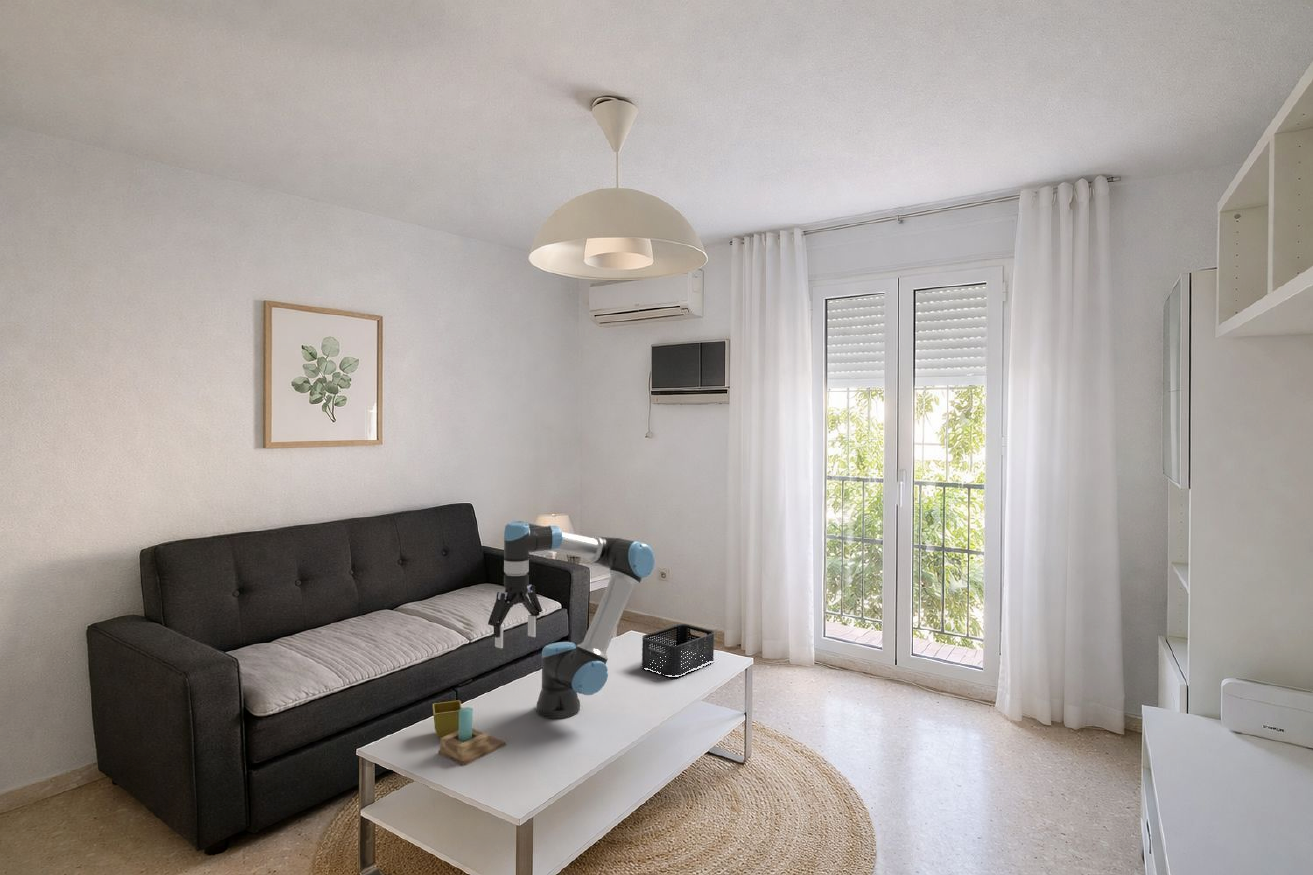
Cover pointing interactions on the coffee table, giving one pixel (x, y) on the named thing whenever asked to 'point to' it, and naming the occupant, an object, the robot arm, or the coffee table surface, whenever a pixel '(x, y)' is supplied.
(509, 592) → the robot arm
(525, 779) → the coffee table surface
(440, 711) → the flower pot
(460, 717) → the peg
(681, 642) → the storage bin
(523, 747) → the coffee table surface
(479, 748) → the socket board
